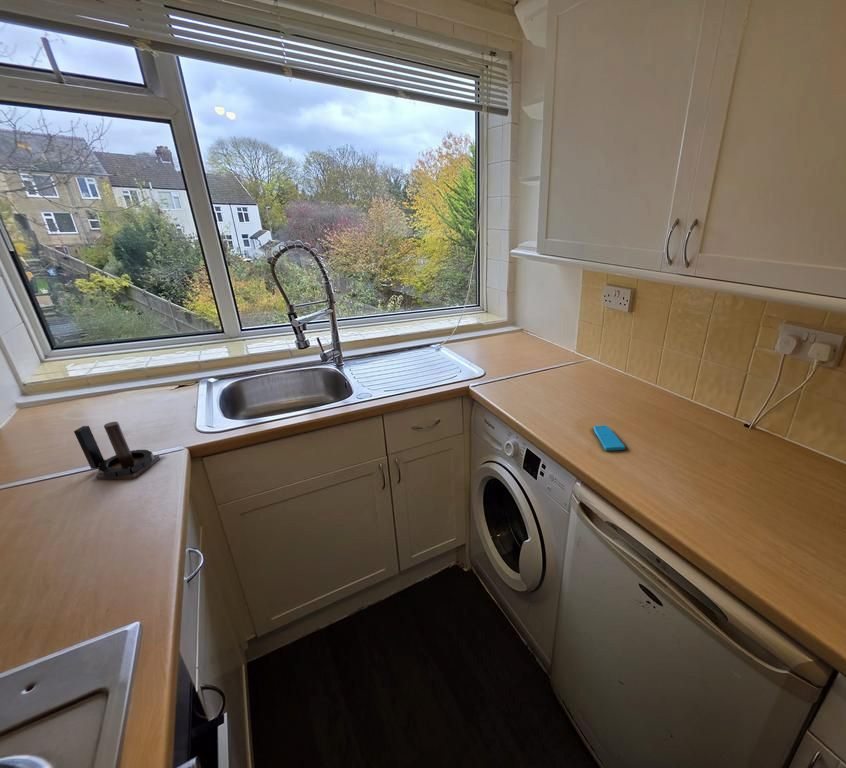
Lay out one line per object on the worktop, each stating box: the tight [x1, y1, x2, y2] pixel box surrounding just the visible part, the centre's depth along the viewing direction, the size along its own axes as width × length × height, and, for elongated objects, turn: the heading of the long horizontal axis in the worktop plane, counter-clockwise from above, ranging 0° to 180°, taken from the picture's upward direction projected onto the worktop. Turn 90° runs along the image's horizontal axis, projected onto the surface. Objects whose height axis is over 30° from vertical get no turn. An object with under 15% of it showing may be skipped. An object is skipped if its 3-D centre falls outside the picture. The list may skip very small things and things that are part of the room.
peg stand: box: [95, 421, 161, 480], centre depth 93 cm, size 8×8×12 cm
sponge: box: [593, 425, 626, 452], centre depth 112 cm, size 2×12×6 cm
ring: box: [73, 425, 155, 477], centre depth 93 cm, size 12×9×10 cm
